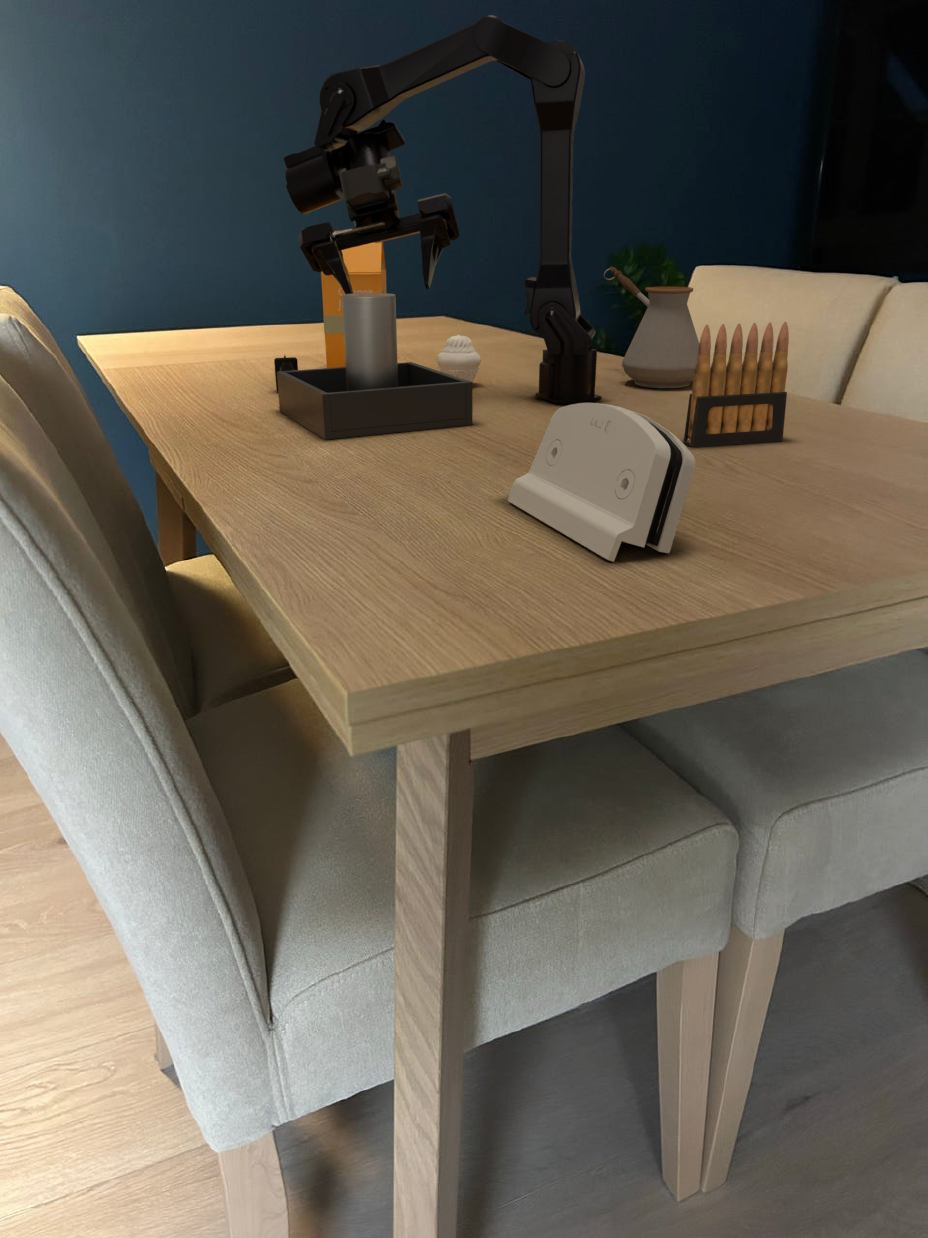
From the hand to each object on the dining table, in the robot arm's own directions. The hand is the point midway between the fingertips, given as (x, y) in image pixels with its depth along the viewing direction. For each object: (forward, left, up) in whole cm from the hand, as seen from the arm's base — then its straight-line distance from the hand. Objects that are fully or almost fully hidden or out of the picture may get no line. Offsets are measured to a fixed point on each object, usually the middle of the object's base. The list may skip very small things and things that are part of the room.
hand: (389, 295), depth 111 cm
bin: (+4, +5, -13) cm, 15 cm away
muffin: (-15, -11, -13) cm, 23 cm away
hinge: (+4, +51, -13) cm, 53 cm away
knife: (+7, -20, -13) cm, 26 cm away
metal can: (+4, +5, -12) cm, 14 cm away
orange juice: (-7, -30, -13) cm, 34 cm away
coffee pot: (-41, -5, -13) cm, 43 cm away
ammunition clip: (-25, +34, -13) cm, 44 cm away
